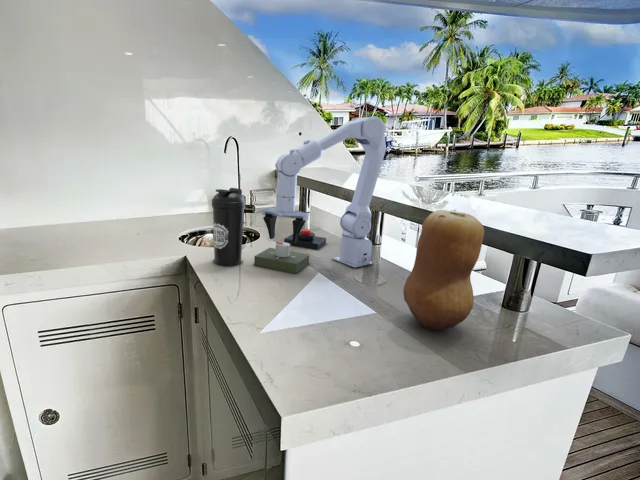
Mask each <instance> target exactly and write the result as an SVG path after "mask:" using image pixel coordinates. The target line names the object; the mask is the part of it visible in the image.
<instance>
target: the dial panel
mask: <svg viewBox="0 0 640 480" xmlns="http://www.w3.org/2000/svg"><path fill="white" fill-rule="evenodd" d="M275 252H276V247H275V248H274V247H268V248H266V249H264V250H263V251H261V252H259V253H257V254H255V255H254V262H253V265H254V266H256V267H262V268H265V269H266V268H267V269H272V270H276V271H282V272H287V273H291V274H298V273H299V272H300V271H301V270H303V269H304V268H305V267H307V265H309V264H310V253H309V254H308V253H303V252H297V251H292V250H290V254H289V256H288V257H278V256H276V255H275Z"/></svg>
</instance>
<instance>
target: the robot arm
mask: <svg viewBox="0 0 640 480" xmlns="http://www.w3.org/2000/svg"><path fill="white" fill-rule="evenodd" d="M386 130H387V126H386V125H385V123H384V121H383V120H382V119H381V118H380V117H378V116H376V115H373V116H367V117H363V116H358V117H355V118H354V119H352V120H349V121H346V122H345V123H344V124H342V125H340V126H339V127H337V128H336V129H334V130H332V131H331V132H329V133H328V134H325V136H323V137H322V138H320V139H319V140H315V139H305V140H304V141H303V142H302V143H303V144H301V145H300V146H298V147H296V148H291V149H289V151H288V152H289V154H288V153H284V154H281V155H280V156H279V157H278V159H277V160H276V163H275V164H274V166H275V169H276V171H277V180H276V194H275V208H272V207H263V208H261V215H262V216H263V217H262V219H263V221H264V223H265V226H266V228H267V233H268V237H269V240H273V239H275V235H276V224H277V218H278V217H280V218H287V219H294V220H292V234H293V239H292V243H296V242H297V239H298V236H299V233H300V232H301V230H302V229H303V227H304V225H305V223H306V222H307V221H309V216H310V213H309V212H304V211H301V210H295V209H296V198H297V197H296V196H297V184H298V180H297V179H298V174H299V173H300V172H301V169H303V168H304V167H306V166H308V165H310V164H312V163H313V162H315V161H317V160H319V159H320V158H322V155H323V152H324V151H325V150H328V149H330V148H331V147H333V146H336V145H337V144H340V143H341V142H343V141H344V140H347V139H353V140H354V141H356V142H357V143H359V144H360V146H361V147H362V149H363V150H364V152H365V154H364V156H363V160H362V164H361V168H360V172H359V175H358V178H357V182H356V186H355V189H354V192H353V196H352V199H351V203H350V204H349V205H348V206H346V209H345V211H344V213H343V214H342V216H341V217H340V220H339V225H340V228H341V229H342V234H341V242H340V249H339V256H337V257H333V260H334V261H337V262H339V263H342V264H344V265H347V266H350V267H352V268H359V267H360V268H361V267H363V266H364V267H365V266H368V265H372V260H371V259H372V253H373V242H372V240H371V239H368V238H367V235H369V233H370V231H371V229H372V221H371V220H372V216H373V214H372V212H371V209H370V205H371V201H372V199H373V195H374V192H375V188H376V185H377V181H378V178H379V174H380V171H381V169H382V165H383V161H384V157H385V155H386V150H387V143H386Z"/></svg>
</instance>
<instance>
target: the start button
mask: <svg viewBox="0 0 640 480" xmlns="http://www.w3.org/2000/svg"><path fill="white" fill-rule="evenodd" d="M300 232H301V234H302V235H311V232H312V230H311V229H309V228H302V229H301V231H300Z"/></svg>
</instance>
